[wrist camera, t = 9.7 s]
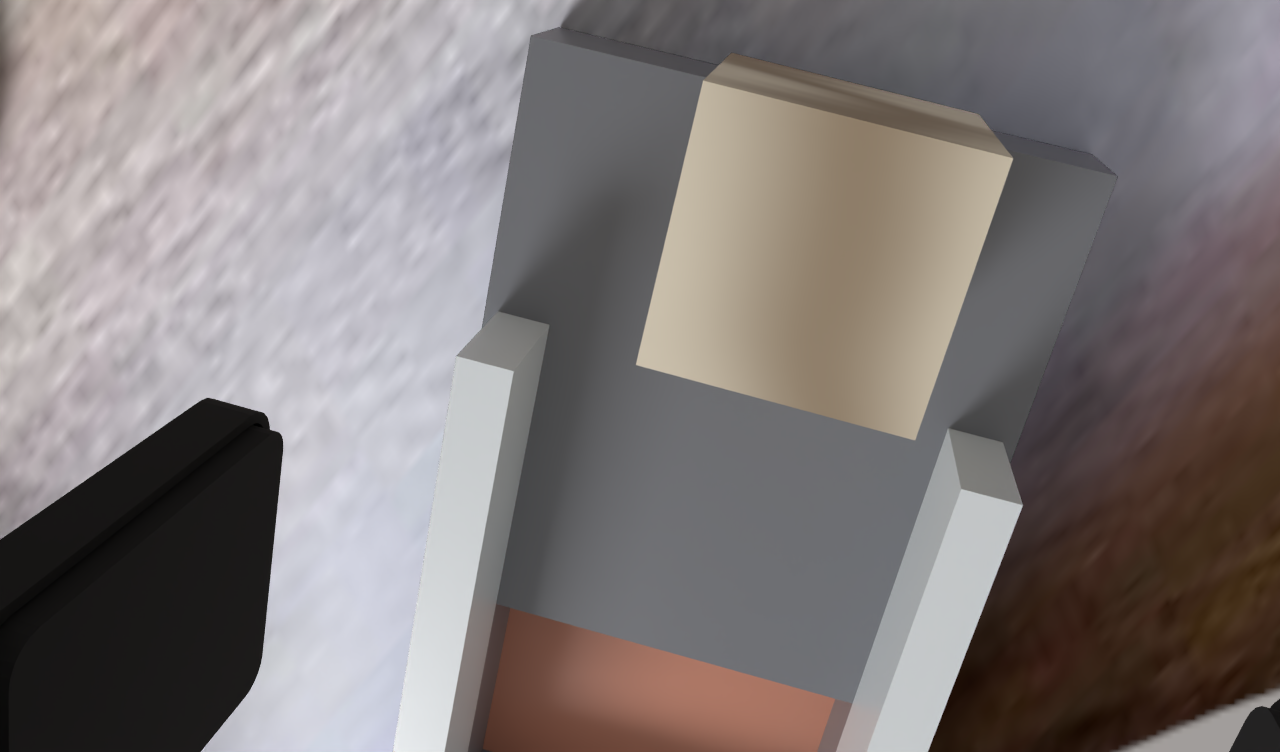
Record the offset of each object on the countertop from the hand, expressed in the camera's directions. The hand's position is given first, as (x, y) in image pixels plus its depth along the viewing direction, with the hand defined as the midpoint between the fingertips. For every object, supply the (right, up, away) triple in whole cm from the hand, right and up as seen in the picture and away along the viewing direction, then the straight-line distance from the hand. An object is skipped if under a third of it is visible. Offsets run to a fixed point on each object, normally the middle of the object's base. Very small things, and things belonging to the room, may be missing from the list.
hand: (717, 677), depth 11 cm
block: (+3, +6, +13) cm, 15 cm away
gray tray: (+1, -1, +19) cm, 19 cm away
